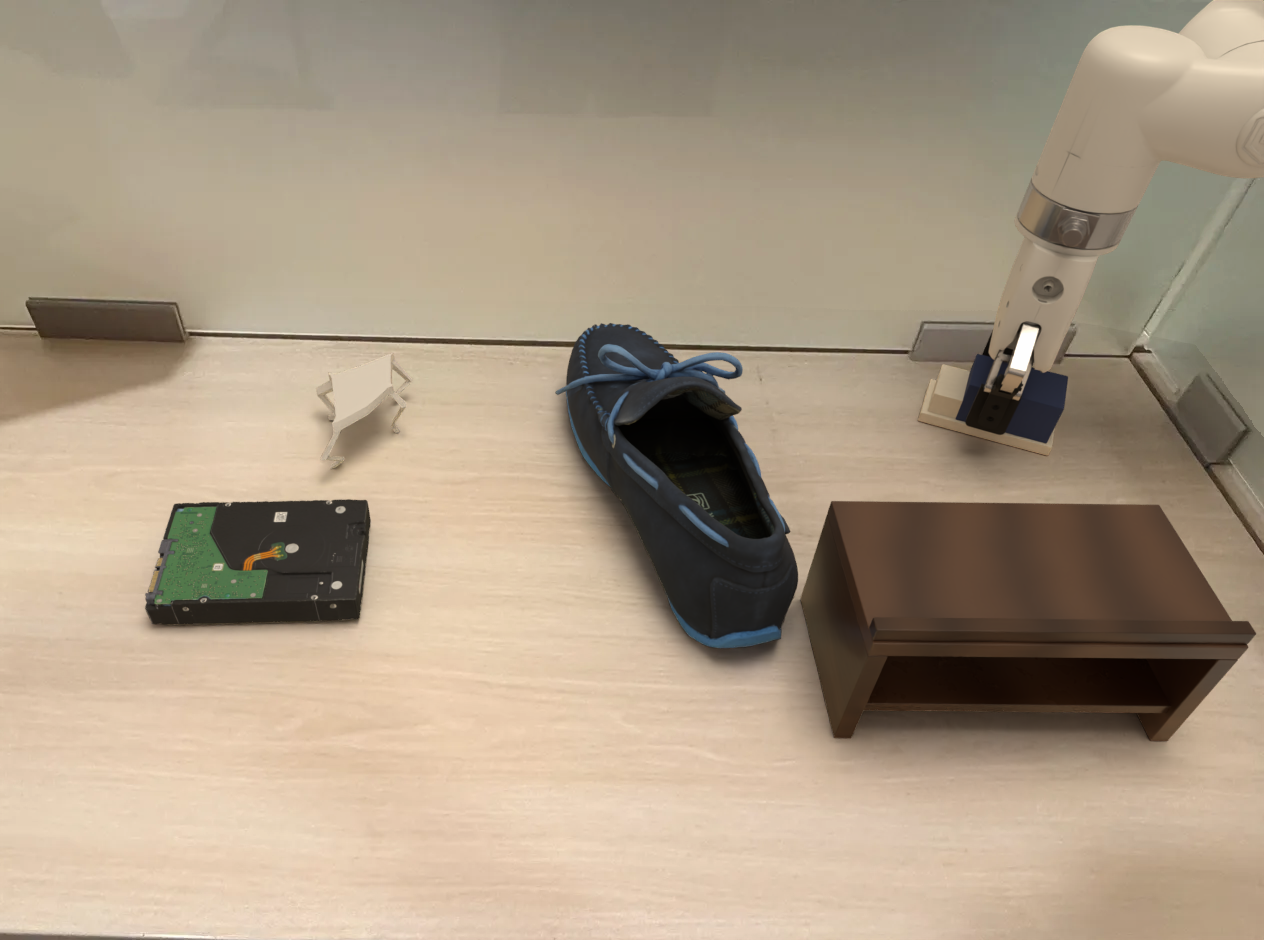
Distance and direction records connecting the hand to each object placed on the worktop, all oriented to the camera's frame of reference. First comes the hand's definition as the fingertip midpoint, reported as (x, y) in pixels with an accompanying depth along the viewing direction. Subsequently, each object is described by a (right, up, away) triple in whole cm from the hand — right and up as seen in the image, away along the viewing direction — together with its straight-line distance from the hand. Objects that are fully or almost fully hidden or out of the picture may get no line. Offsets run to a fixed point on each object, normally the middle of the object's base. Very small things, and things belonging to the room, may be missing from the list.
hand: (990, 396), depth 85 cm
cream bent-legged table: (-55, -4, -1) cm, 55 cm away
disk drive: (-60, -15, -12) cm, 63 cm away
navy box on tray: (0, -2, +2) cm, 3 cm away
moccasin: (-29, -9, -6) cm, 31 cm away
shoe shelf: (-9, -21, -17) cm, 29 cm away
